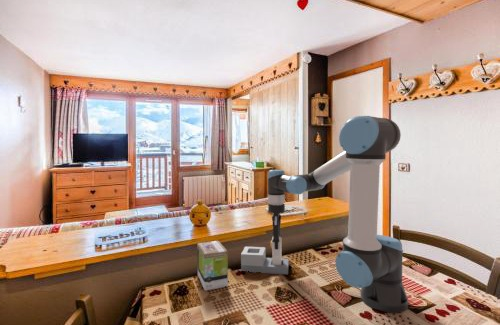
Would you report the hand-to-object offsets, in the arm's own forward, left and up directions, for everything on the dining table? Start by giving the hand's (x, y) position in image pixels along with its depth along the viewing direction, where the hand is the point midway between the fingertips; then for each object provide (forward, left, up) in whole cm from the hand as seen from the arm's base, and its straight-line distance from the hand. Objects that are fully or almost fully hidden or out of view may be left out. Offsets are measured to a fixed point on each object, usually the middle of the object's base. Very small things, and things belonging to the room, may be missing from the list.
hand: (276, 253), depth 123 cm
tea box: (-15, +26, -7) cm, 31 cm away
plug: (0, 0, -5) cm, 5 cm away
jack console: (0, +5, -7) cm, 9 cm away
